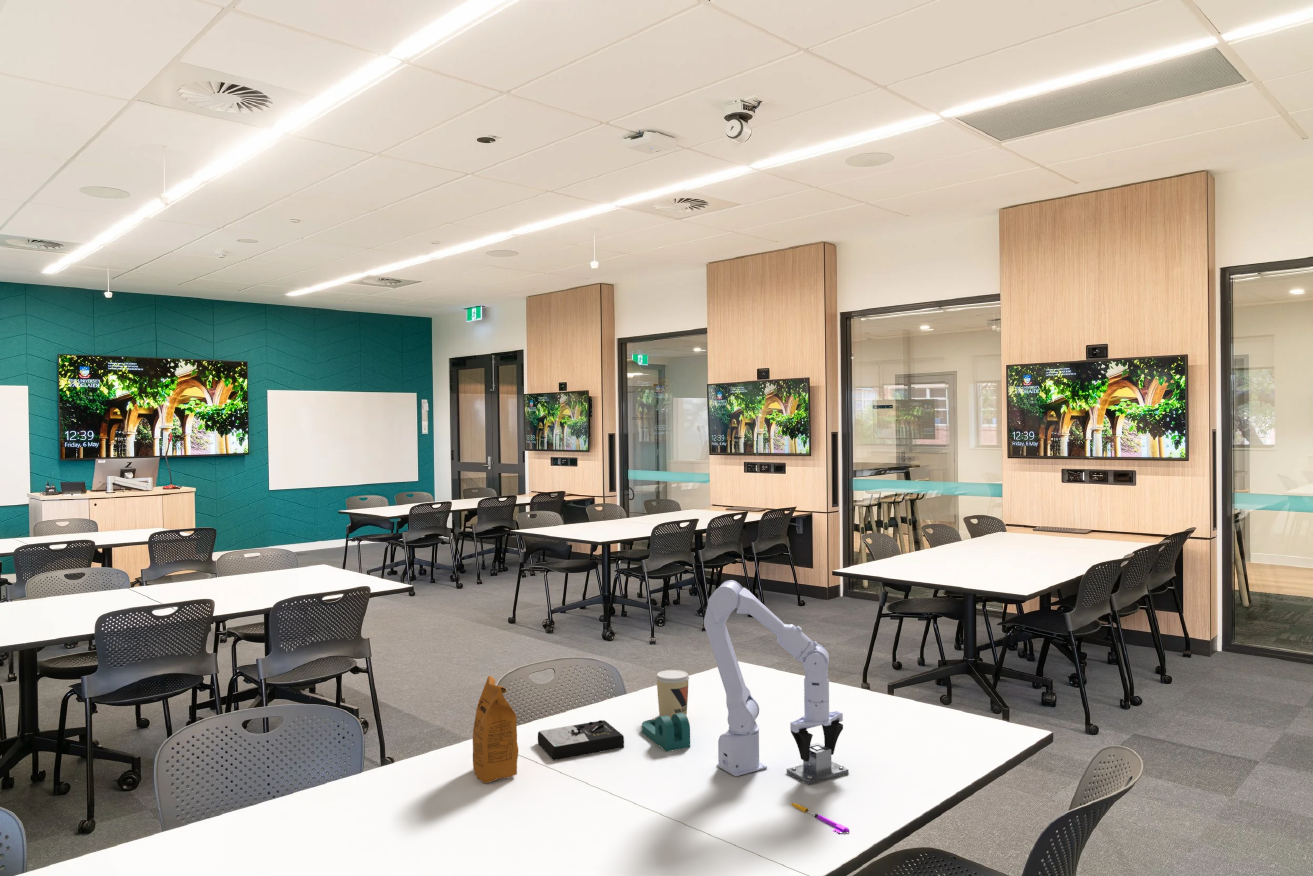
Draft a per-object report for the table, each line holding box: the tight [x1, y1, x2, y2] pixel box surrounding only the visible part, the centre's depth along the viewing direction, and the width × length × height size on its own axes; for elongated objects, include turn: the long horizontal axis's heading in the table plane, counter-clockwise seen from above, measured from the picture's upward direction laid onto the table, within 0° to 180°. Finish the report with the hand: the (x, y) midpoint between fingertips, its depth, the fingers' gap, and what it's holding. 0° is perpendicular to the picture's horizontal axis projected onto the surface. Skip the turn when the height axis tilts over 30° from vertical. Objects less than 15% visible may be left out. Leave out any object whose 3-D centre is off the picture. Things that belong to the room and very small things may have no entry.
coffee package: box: [472, 675, 519, 784], centre depth 199 cm, size 10×12×22 cm
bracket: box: [641, 713, 691, 752], centre depth 221 cm, size 18×7×8 cm, turn 25°
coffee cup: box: [655, 669, 690, 718], centre depth 238 cm, size 9×9×12 cm
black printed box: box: [537, 719, 625, 761], centre depth 217 cm, size 13×19×5 cm
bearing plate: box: [786, 746, 850, 786], centre depth 197 cm, size 12×8×6 cm, turn 121°
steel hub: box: [802, 742, 832, 775], centre depth 197 cm, size 5×5×5 cm
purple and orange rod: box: [790, 802, 850, 833], centre depth 174 cm, size 3×1×16 cm
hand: (817, 756), depth 197 cm, fingers open, 7 cm apart
